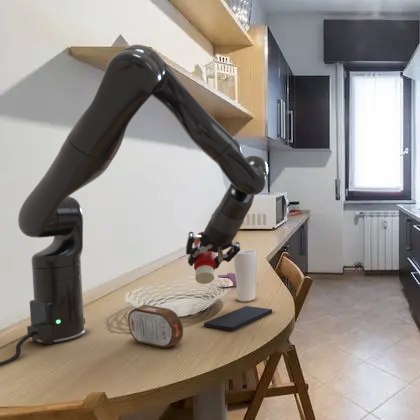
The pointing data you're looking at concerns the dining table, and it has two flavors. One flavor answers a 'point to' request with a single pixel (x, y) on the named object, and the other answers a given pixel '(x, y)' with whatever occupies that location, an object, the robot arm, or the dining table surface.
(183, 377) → the dining table surface
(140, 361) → the dining table surface
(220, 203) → the robot arm
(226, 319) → the rubber mat
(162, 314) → the tin
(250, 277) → the drinking glass
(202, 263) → the squeeze bottle
